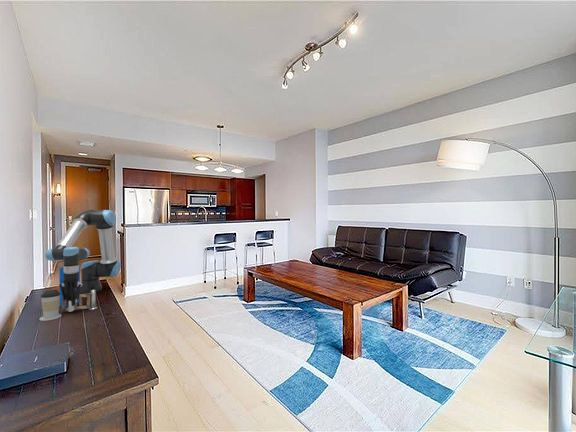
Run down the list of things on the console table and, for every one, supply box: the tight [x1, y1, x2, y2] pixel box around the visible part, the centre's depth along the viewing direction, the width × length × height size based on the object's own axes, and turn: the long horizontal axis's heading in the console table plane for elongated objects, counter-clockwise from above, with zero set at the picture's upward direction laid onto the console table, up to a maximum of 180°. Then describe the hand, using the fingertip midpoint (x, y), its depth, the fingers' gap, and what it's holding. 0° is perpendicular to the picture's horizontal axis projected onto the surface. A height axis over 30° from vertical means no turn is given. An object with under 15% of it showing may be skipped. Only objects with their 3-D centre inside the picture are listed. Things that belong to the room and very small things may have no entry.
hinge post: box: [88, 290, 98, 311], centre depth 183 cm, size 4×4×12 cm
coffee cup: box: [40, 289, 61, 319], centre depth 168 cm, size 9×9×15 cm
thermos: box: [58, 266, 81, 308], centre depth 190 cm, size 11×11×25 cm
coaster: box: [39, 313, 62, 322], centre depth 168 cm, size 10×10×1 cm
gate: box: [61, 293, 91, 312], centre depth 179 cm, size 14×1×9 cm, turn 121°
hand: (71, 310), depth 175 cm, fingers closed
